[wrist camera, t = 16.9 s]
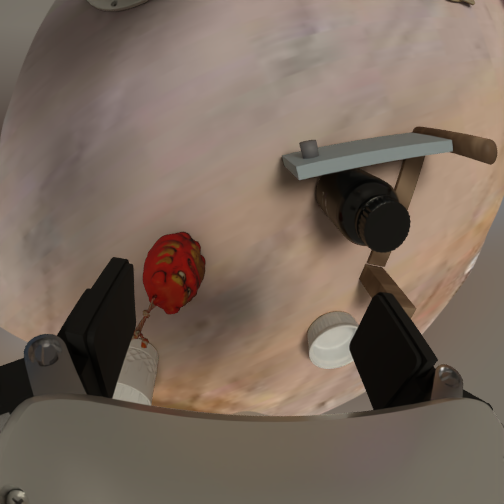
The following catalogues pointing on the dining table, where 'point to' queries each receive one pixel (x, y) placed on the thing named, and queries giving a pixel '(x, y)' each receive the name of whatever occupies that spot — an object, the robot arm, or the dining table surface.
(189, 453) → the robot arm
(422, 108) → the dining table surface
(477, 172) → the dining table surface
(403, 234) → the supplement bottle
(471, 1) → the tableware set
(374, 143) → the door
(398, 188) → the door frame
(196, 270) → the red clay folk toy
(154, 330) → the dining table surface
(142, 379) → the white cup
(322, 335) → the ramekin
